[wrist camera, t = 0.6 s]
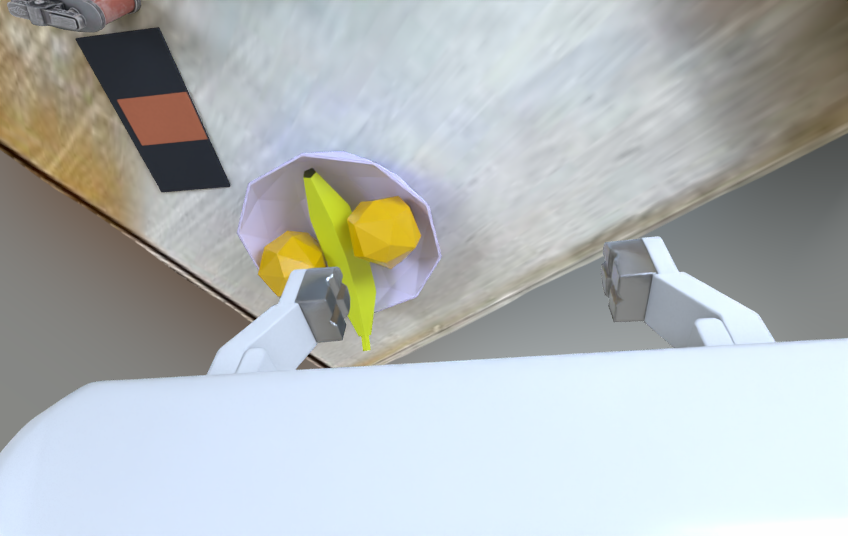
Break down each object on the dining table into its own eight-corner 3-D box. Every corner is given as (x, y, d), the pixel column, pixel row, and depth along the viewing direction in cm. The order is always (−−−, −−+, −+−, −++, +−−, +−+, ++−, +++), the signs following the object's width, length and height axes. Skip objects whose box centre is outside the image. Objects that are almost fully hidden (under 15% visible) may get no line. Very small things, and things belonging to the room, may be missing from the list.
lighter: (65, -1, 51) (-3, 26, 44) (55, -37, 49) (-17, -15, 42) (143, 17, 52) (89, 47, 45) (137, -18, 50) (80, 7, 42)
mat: (76, 38, 54) (74, 39, 54) (159, 27, 53) (157, 28, 52) (162, 191, 67) (161, 192, 67) (230, 185, 66) (229, 187, 65)
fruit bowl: (237, 121, 59) (199, 167, 51) (456, 148, 60) (455, 198, 51) (263, 285, 78) (239, 339, 69) (431, 304, 78) (427, 360, 70)
